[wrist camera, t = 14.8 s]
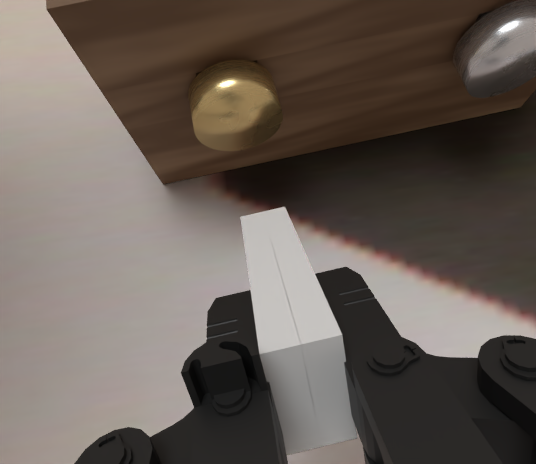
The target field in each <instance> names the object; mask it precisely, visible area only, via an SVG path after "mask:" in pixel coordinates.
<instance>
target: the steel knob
mask: <svg viewBox="0 0 536 464" xmlns="http://www.w3.org/2000/svg"><path fill="white" fill-rule="evenodd" d="M453 62H454V65H455V67H456V69H457V71H458V73H459V75H460V77H461V79H462V81H463V83H464V85H465V87H466V89H467V91H468V93H469V94H470V95H471V96H473V97H477V98H487V97H493V96H496V95H500V94H503V93H505V92H508V91H510V90H513V89H515V88H517V87H519V86H521V85H522V84H524V83H526V82H528V81H529V80H531V79H532V78H534V77H535V76H536V0H516V1H512V2H510V3H507V4H505V5H502V6H500V7H498V8H496V9H495V10H493V11H490V12H485V13H481V14H479V16H478V18H477V19H476V21H475V23H474V25H472V26H471V27H470V28H469V29H468V30H467V31H466V32H465V34H464V35H463V36H462V37H461V39H460V40H459V41H458V43H457V45H456V47H455V49H454V52H453Z"/></svg>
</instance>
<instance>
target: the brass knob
mask: <svg viewBox="0 0 536 464" xmlns="http://www.w3.org/2000/svg"><path fill="white" fill-rule="evenodd" d="M188 98H189V104H190V110H191V116H192V121H193V127H194V132H195V135H196V137H197V139H198V140H199V141H200V142H201V143H202V144H204V145H205V146H207V147H209V148H212V149H215V150H220V151H239V150H245V149H249V148H252V147H255V146H257V145H259V144H261V143H263V142H265V141H267V140H268V139H269V138H271V137H272V136H273V135H274V134H275V133H276V132H277V131H278V129H279V128H280V126H281V124H282V120H283V114H282V110H281V106H280V102H279V99H278V95H277V91H276V88H275V84H274V80H273V78H272V75H271V74H270V72H269V71H268V70H267V69H266V68H265V67H263V66H262V65H260V64H258V63H255V62H252V61H248V60H239V59H237V60H227V61H222V62H219V63H216V64H213V65H211V66H209V67H207V68H206V69H204V70H203V71H202V72H200V73H199V74H198V75H197V76H196V77H195V78H194V80H193V81H192V83H191V85H190V88H189V92H188Z"/></svg>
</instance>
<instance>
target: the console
mask: <svg viewBox="0 0 536 464" xmlns="http://www.w3.org/2000/svg"><path fill="white" fill-rule="evenodd" d="M512 1H516V0H46V7H47V11H48V12H49V14H50V15H51V17H52V18H53V20H54V21H55V23H56V24H57V26H58V27H59V29H60V30H61V32H62V33H63V35H64V36H65V38H66V39H67V41H68V42H69V44H70V45H71V47H72V48H73V50H74V51H75V53H76V54H77V56H78V57H79V59H80V60H81V62H82V63H83V65H84V66H85V68H86V69H87V71H88V72H89V74H90V75H91V77H92V78H93V80H94V81H95V83H96V84H97V86H98V87H99V89H100V90H101V92H102V93H103V95H104V96H105V98H106V99H107V101H108V102H109V104H110V105H111V107H112V108H113V110H114V111H115V113H116V114H117V116H118V117H119V119H120V120H121V122H122V123H123V125H124V126H125V128H126V129H127V131H128V132H129V134H130V135H131V137H132V138H133V140H134V141H135V143H136V144H137V146H138V147H139V149H140V150H141V152H142V153H143V155H144V156H145V158H146V159H147V161H148V162H149V164H150V165H151V167H152V168H153V170H154V171H155V173H156V174H157V176H158V177H159V179H160V180H161V182H162V183H163V184H167V183H171V182H176V181H181V180H185V179H190V178H195V177H199V176H204V175H209V174H213V173H218V172H223V171H227V170H232V169H237V168H241V167H246V166H251V165H255V164H260V163H264V162H269V161H274V160H278V159H283V158H288V157H292V156H297V155H302V154H306V153H311V152H316V151H320V150H325V149H330V148H334V147H339V146H344V145H348V144H353V143H358V142H362V141H367V140H371V139H376V138H381V137H385V136H390V135H395V134H399V133H404V132H409V131H413V130H418V129H423V128H427V127H432V126H437V125H441V124H446V123H451V122H455V121H460V120H465V119H469V118H474V117H479V116H483V115H488V114H492V113H497V112H502V111H506V110H511V109H516V108H520V107H521V106H522V105H523V104H524V103H525V102H526V100H527V99H528V98H529V97H530V96H531V95H532V93H533V92H534V91H535V90H536V76H535V77H534V78H532V79H531V80H529V81H528V82H526V83H524V84H522V85H521V86H519V87H517V88H515V89H513V90H510V91H508V92H505V93H503V94H500V95H496V96H493V97H487V98H477V97H473V96H471V95H470V94H469V93H468V91H467V89H466V87H465V85H464V83H463V81H462V79H461V77H460V75H459V73H458V71H457V69H456V67H455V65H454V62H453V52H454V49H455V47H456V45H457V43H458V41H459V40H460V39H461V37H462V36H463V35H464V34H465V32H466V31H467V30H468V29H469V28H470V27H471V26H472V25H474V23H475V21H476V19H477V18H478V16H479V14H481V13H485V12H490V11H493V10H495V9H496V8H498V7H500V6H502V5H505V4H507V3H510V2H512ZM237 59H239V60H248V61H252V62H255V63H258V64H260V65H262V66H263V67H265V68H266V69H267V70H268V71H269V72H270V74H271V75H272V78H273V80H274V84H275V88H276V91H277V95H278V99H279V102H280V106H281V110H282V114H283V120H282V124H281V126H280V128H279V129H278V131H277V132H276V133H275V134H274V135H273V136H272V137H271V138H269V139H268V140H267V141H265V142H263V143H261V144H259V145H257V146H255V147H252V148H249V149H245V150H239V151H220V150H215V149H212V148H209V147H207V146H205V145H204V144H202V143H201V142H200V141H199V140H198V139H197V137H196V135H195V132H194V127H193V121H192V116H191V110H190V104H189V98H188V92H189V88H190V85H191V83H192V81H193V80H194V78H195V77H196V76H197V75H198V74H199V73H200V72H202V71H203V70H204V69H206V68H207V67H209V66H211V65H213V64H216V63H219V62H222V61H227V60H237Z"/></svg>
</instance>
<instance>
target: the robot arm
mask: <svg viewBox="0 0 536 464" xmlns="http://www.w3.org/2000/svg"><path fill="white" fill-rule="evenodd" d="M240 218H241V226H242V233H243V240H244V247H245V254H246V261H247V269H248V276H249V283H250V290H249V291H245V292H241V293H236V294H232V295H228V296H223V297H219V298H216V299H215V301H214V302H213V304H212V305H211V307H210V309H209V310H208V317H207V327H208V328H207V341H206V343H205V344H203V345H202V346H200V347H199V348H197V349H196V350H195V351H193V353H192V354H191V355H190V356H189V357H188V358H187V360H186V361H185V363H184V366H183V368H182V371H181V374H182V377H183V379H184V382H185V384H186V387H187V390H188V392H189V395H190V397H191V400H192V403H193V405H194V409H193V410H192V411H191V412H190V413H189V414H188V415H186V416H185V417H184V418H183V419H182V420H180V421H178V422H177V423H175V424H174V425H172V426H170V427H168V428H167V429H165V430H163V431H161V432H159V433H157V434H155V435H153V436H152V437H149V436H148V435H147V434H146V433H144V432H143V431H142V430H141V429H136V428H130V427H128V428H123V429H118V430H114V431H112V432H110V433H108V434H106V435H104V436H102V437H100V438H99V439H97V440H96V441H95V442H94V443H93V444H91V445H90V446H89V447H88V448H87V449H85V451H84V452H83V453H82V454H81V456H80V457H79V458H78V460H77V461H76V462H75V464H288V461H287V456H286V455H290V454H294V453H298V452H302V451H306V450H310V449H315V448H319V447H323V446H327V445H331V444H335V443H339V442H343V441H348V440H352V439H356V438H357V434H356V429H357V431H358V434H359V437H360V439H361V442H362V445H363V449H364V457H365V464H536V339H533V338H529V337H524V336H500V337H497V338H493V339H490V340H489V341H487V342H486V343H485V344H484V345H482V346H481V348H480V352H479V355H478V358H450V357H439V356H434V355H430V354H426V353H425V352H424V351H423V350H422V349H421V348H420V347H419V346H418V345H417V344H416V343H414V342H412V341H409V340H407V339H405V338H403V337H401V336H400V334H399V333H398V331H397V330H396V328H395V327H394V325H393V324H392V322H391V321H390V319H389V318H388V316H387V315H386V313H385V312H384V310H383V309H382V307H381V306H380V304H379V302H378V301H377V299H375V297H374V295H373V293H372V292H371V290H370V289H368V286H367V284H366V283H365V281H364V280H363V278H362V277H361V275H360V274H358V273H356V272H355V271H353V270H351V269H349V268H348V267H343V268H338V269H334V270H330V271H325V272H321V273H317V274H315V273H314V271H313V268H312V266H311V264H310V262H309V259H308V257H307V255H306V253H305V251H304V248H303V246H302V244H301V242H300V239H299V237H298V235H297V233H296V230H295V228H294V226H293V224H292V222H291V219H290V217H289V215H288V213H287V210H286V208H285V207H281V208H277V209H272V210H268V211H263V212H259V213H255V214H250V215H246V216H241V217H240ZM355 426H356V427H355Z"/></svg>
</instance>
